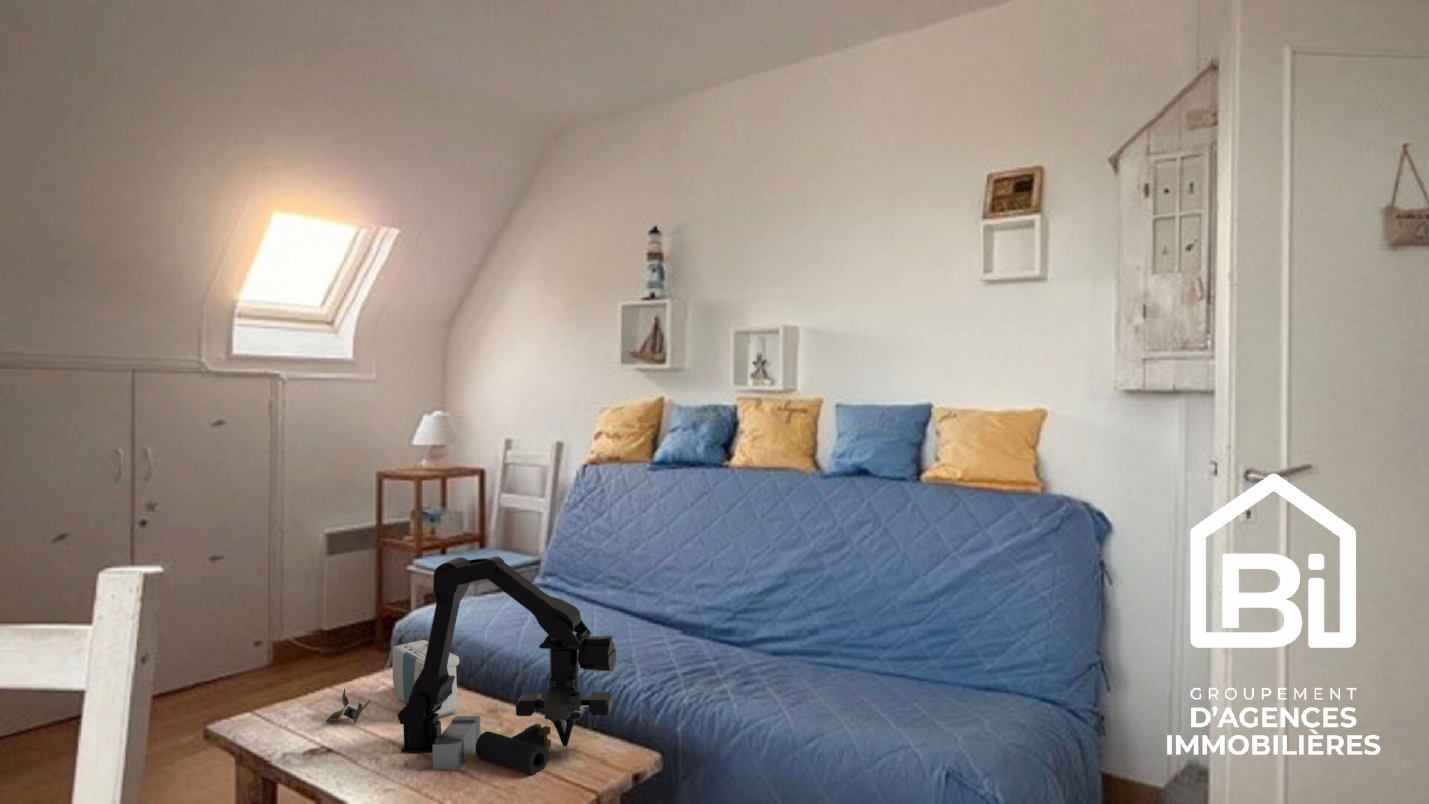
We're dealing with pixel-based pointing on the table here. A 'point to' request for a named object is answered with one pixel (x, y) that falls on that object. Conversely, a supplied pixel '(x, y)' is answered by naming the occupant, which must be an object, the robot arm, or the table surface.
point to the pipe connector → (517, 748)
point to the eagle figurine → (348, 710)
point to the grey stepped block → (456, 743)
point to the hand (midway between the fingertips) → (565, 745)
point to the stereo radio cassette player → (409, 668)
